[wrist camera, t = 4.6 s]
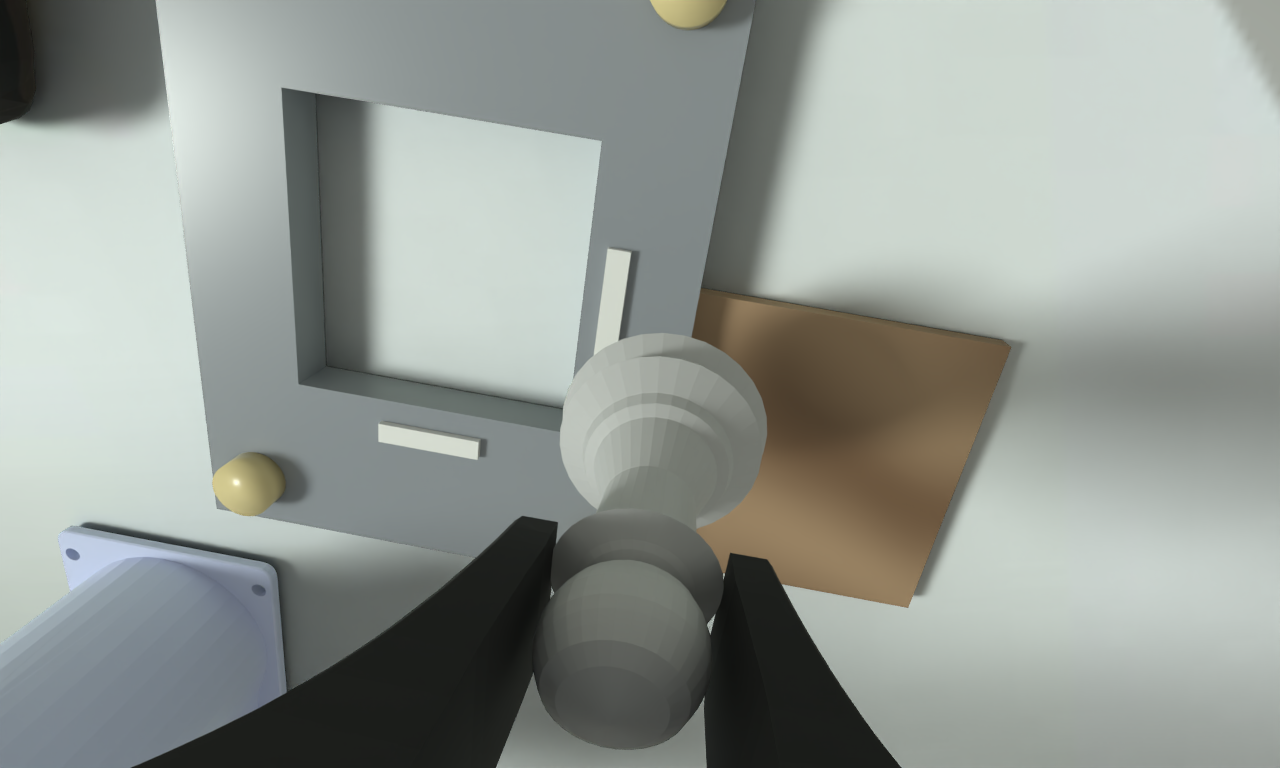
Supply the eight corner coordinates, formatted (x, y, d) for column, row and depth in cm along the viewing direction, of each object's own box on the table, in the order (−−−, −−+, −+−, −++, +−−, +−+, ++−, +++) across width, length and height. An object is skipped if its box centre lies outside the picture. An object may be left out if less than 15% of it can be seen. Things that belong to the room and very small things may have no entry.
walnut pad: (903, 595, 22) (908, 607, 21) (634, 545, 22) (632, 556, 21) (1002, 340, 18) (1011, 347, 18) (681, 284, 18) (680, 289, 18)
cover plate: (647, 559, 22) (640, 607, 20) (247, 484, 23) (199, 522, 20) (767, -69, 15) (776, -99, 13) (184, -159, 16) (101, -202, 14)
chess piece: (803, 378, 14) (879, 674, 7) (713, 533, 17) (703, 884, 9) (606, 294, 14) (482, 515, 7) (539, 462, 16) (390, 767, 9)
